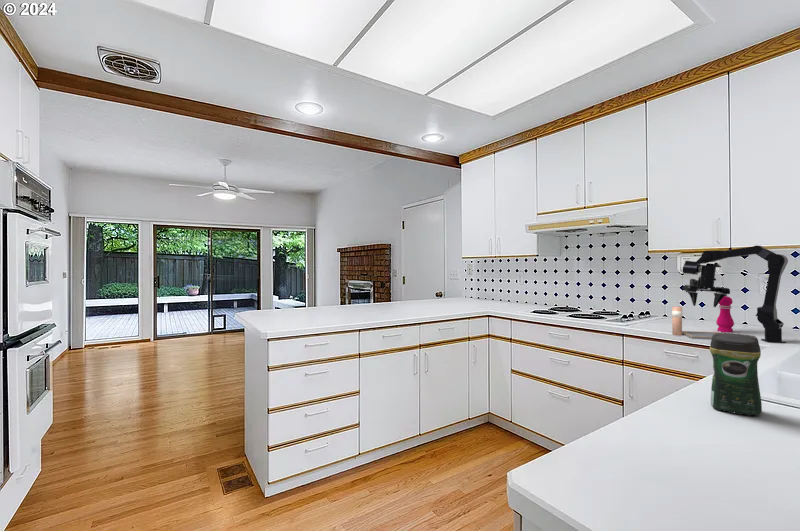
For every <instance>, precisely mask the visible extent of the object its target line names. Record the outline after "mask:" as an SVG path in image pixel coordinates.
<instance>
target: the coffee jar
mask: <svg viewBox="0 0 800 531" xmlns="http://www.w3.org/2000/svg"><path fill="white" fill-rule="evenodd" d="M709 351H710V354H711V356H712V379H711V388H710V389H711V390H710V406H712V407H713V408H714V409H716V408H717V409H716V410H718V409H720V410H719V411H721V410H724V411H723V412H725V411H729V412H728V413H730V412H735V413H740V414H739V415H742V414H747V415H746V416H751V415H755V416H758V415H761V414H762V413H763V412H762V411H763V409H762V408H763V407H762V405H763V404H762V396H761V391H760V385H759V384H760V382H759V375H758V373H759V372H758V362H759V360H760V358H761V356H762V354H761V353H762V350H761V346H760V342H759V339H758V337H757V336H755V335H749V334H741V333H732V332H731V333H728V332H721V333H715V334H713V335H712V339H710V345H709ZM735 413H734V414H735Z"/></svg>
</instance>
